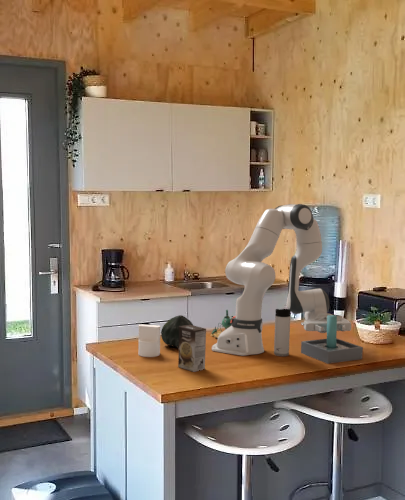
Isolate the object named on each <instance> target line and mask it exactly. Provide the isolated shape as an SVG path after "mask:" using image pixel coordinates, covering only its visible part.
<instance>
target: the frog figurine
mask: <svg viewBox="0 0 405 500" xmlns="http://www.w3.org/2000/svg"><path fill="white" fill-rule="evenodd" d="M233 317H234V316H233V315H231V316H229V310H228V309H226V310H225V316H224V317H223V319H222V320H221V322H219V323H218V326H217V328H216V326H215V327H214V328H213V330H212V331H211V332H210V333H211V334H210V337H214V338H217V339H218V337H219V335H220V334H221V333H222V332H223V331H222V328H224V330H226V329H227V328H229V327H230V326H231V323H230V322H231V319H232V318H233ZM219 324H220V325H219ZM219 328H220V331H218V329H219Z"/></svg>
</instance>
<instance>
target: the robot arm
mask: <svg viewBox="0 0 405 500" xmlns="http://www.w3.org/2000/svg"><path fill="white" fill-rule="evenodd" d="M282 230H293V231H294V233H295V235H296V236H295V238H296V241H295V242H296V251H295V253H294V255H293V256H291V258H290V261H289V262H290V263H289V271H288V272H289V274H288V289H287V296H286V306H287V309H290V313H293V314H294V315H298V314H299V315H300V314H303V313H304V320H303V321H302V322H300V325H301V326H303V329H304V330H305V331H306V332H318V333H320V334H327V316H328V315H335V316H337V332H350V331H352V322H351V321H350V320H348V319H347V318H346V317H345V318H344V317H343V315H340V314H331V313H328V312H329V309H330V298H329V295H328V293H326V291H325V290H324V289H323V288H313V289H307V290H306V289H305V290H299V286H300V274H301V272H302V271H303V269H304V268H306V267H307V266H309V265H311V264H313V263H314V262H316V261H317V260H318V259H319V258H320V257H321V254H322V252H323V244H322V243H323V242H322V237H321V236H322V235H321V231H320V226H319V224H318V221H317V220H316V219H315V218H314V214H313V212H312V209H311V208H310V207H309V206H308V205H306V204H303V203H296V204H295V203H288V204H284V205H283V204H281V205H278V206H277V207H275V208H267V209H265V210H264V212H263V213H262V214H261V216H260V217H259V220H258V221H257V223H256V226H255V227H254V229H253V233H252V234H251V236H250V239H249V241H248V243H247V244H246V246H245V248H244V249H243V250H242V251H241V252H240V253H239V254H238V255H237V256H236V257H234V259H231V260H229V261H228V263H227V264H226V266H225V270H224V273H225V276H226V277H225V278H226V279H228V281H230V282H232V283H234V284H237V285H240V286H244V289H243V292H242V294H241V295H240V296H238V297H237V298H236V300H235V315H234V316H233V317H231V318H232V319H231V318H230V319H231V322H230V323H231V326H230V327H229V328H227V329H226V330H225V329H224V330H223V331H222V333H221V334H220V335H219V337H218V338H217V342H216V343H214V344H213V345H211V351H212V352H216V353H224V354H228V355H229V354H231V355H235V356H244V357H245V356H249V355H251V356H252V355H260V354H262V353H264V352H265V348H264V344H263V336H262V335H263V334H262V332H263V318H262V314H263V313H262V311H263V301H264V296H265V294H266V293H267V291H268V289H269V288H271V286H273V284H274V283H275V281H276V271H275V269H274V267H273V266H271V265H269V264H267V263H265V262H263V261H264V260H265V259H266V258H268V257H270V256H272V254H273V252H274V250H275V248H276V245H277V243H278V241H279V238H280V235H281V232H282Z"/></svg>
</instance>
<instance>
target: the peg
mask: <svg viewBox="0 0 405 500" xmlns="http://www.w3.org/2000/svg"><path fill="white" fill-rule="evenodd" d="M335 315H336V314H333V315H328V316H327V333H326V339H327V348H336V338H337V332H338V331H337V316H335Z"/></svg>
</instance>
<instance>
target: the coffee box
mask: <svg viewBox="0 0 405 500" xmlns="http://www.w3.org/2000/svg"><path fill="white" fill-rule="evenodd" d="M206 341H207V328H205V327H201V326H198V325H195V324H193V325H184V326H179V348H178V358H177V359H178V361H177V362H178V363H177V366H178V367H177V368H181V369H183V370H186V371H190V372H193V373H196V372H199V370H200V371H203V369H204V370H205V369H206V367H205V366H206V350H207V349H206V347H207V346H206Z"/></svg>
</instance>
